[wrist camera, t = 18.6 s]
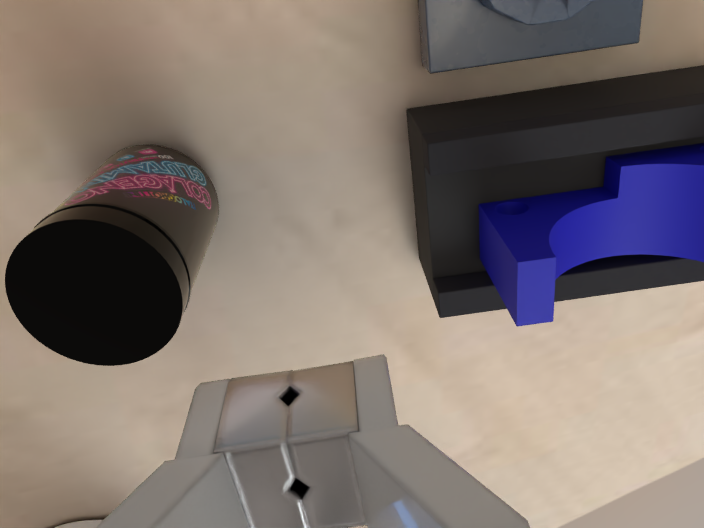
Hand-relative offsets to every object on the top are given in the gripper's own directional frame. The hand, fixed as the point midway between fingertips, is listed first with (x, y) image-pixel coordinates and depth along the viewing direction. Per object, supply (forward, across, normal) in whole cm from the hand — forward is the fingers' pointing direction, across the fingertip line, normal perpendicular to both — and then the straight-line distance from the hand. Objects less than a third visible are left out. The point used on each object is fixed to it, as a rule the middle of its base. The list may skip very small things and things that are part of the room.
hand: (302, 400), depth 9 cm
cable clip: (+18, -13, +6) cm, 23 cm away
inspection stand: (+23, -13, +6) cm, 27 cm away
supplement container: (+23, +9, +4) cm, 25 cm away
